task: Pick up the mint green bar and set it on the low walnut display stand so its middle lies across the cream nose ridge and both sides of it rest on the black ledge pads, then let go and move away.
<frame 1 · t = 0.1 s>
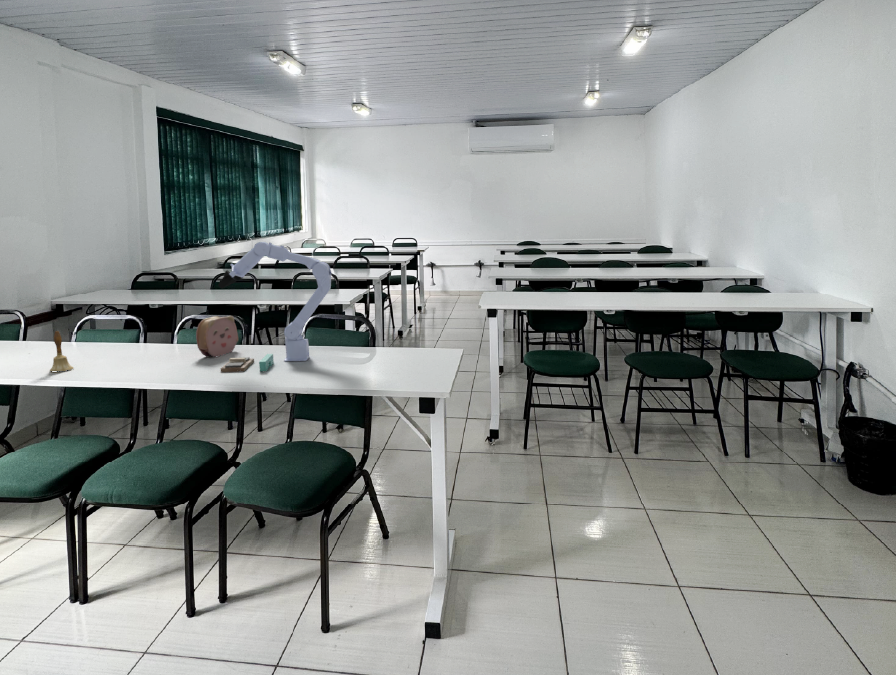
hand: (222, 285, 246), 32 cm above the table, tool tilted 50°, fingers open, 7 cm apart
mint green bar: (266, 367, 241), on the table
face sculpture: (219, 354, 265), on the table
display stand: (238, 366, 242), on the table
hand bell: (61, 370, 239), on the table
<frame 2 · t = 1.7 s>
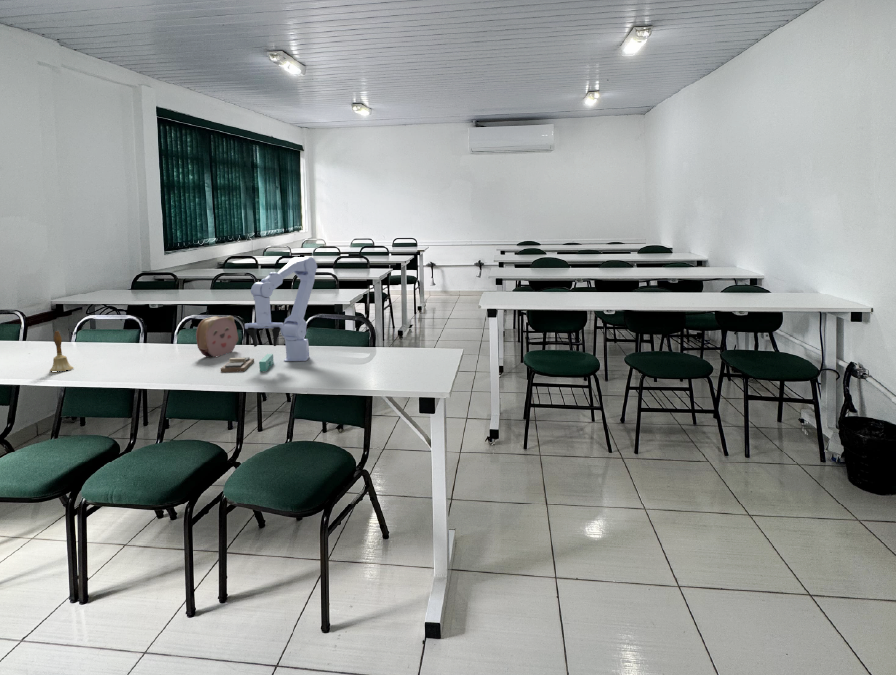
hand: (265, 345, 239), 9 cm above the table, tool pointing down, fingers open, 7 cm apart
nothing on the table moved.
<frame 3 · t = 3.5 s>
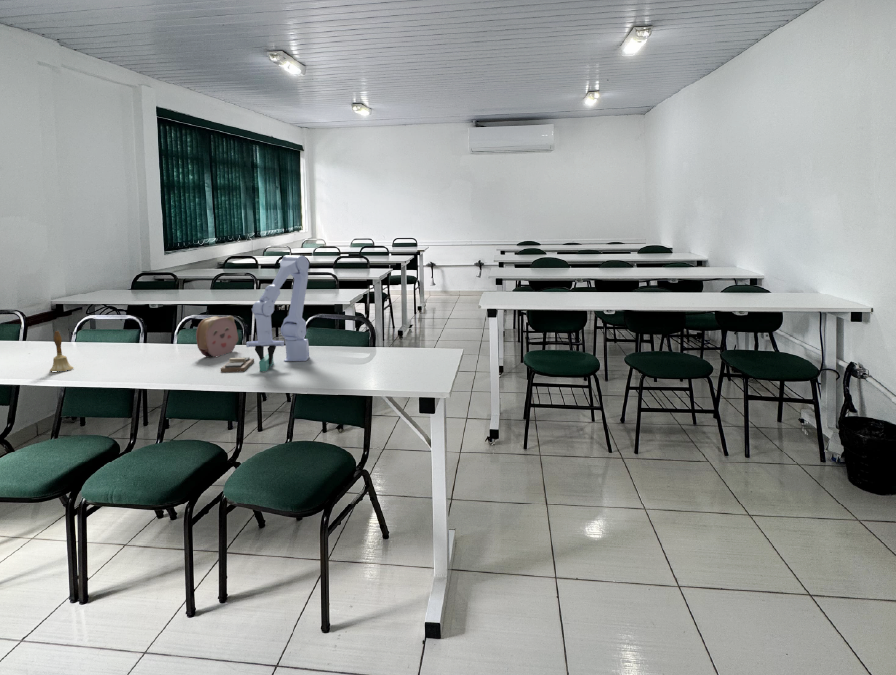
hand: (266, 363, 241), 1 cm above the table, tool pointing down, fingers closed on mint green bar, 2 cm apart
mint green bar: (266, 367, 241), on the table, touching gripper
everything else where it was.
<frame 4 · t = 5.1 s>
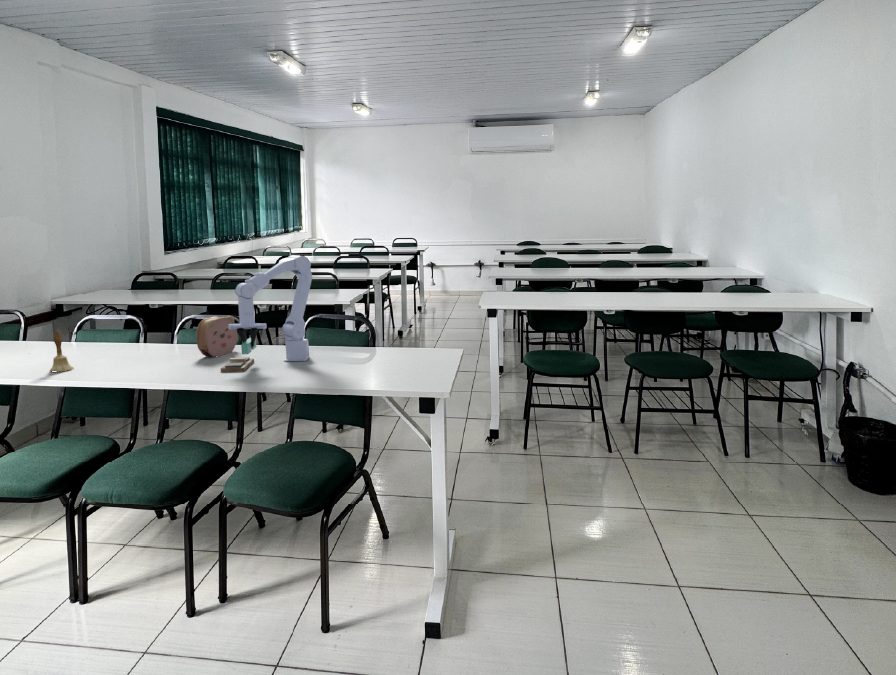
hand: (248, 346, 240), 9 cm above the table, tool pointing down, fingers closed on mint green bar, 2 cm apart
mint green bar: (249, 350, 240), point 7 cm above the table, touching gripper
everything else where it was.
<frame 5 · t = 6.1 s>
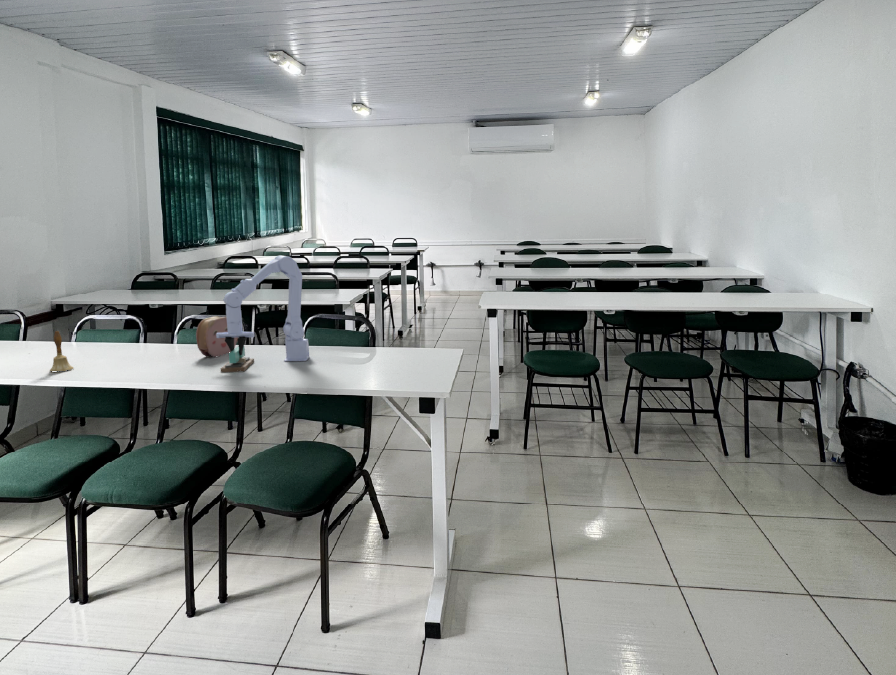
hand: (237, 355, 241), 5 cm above the table, tool pointing down, fingers closed on mint green bar, 2 cm apart
mint green bar: (237, 359, 241), point 3 cm above the table, touching gripper
everything else where it was.
when the fingers open (5 cm above the table, at t = 6.8 s): mint green bar stays where it is, resting on display stand.
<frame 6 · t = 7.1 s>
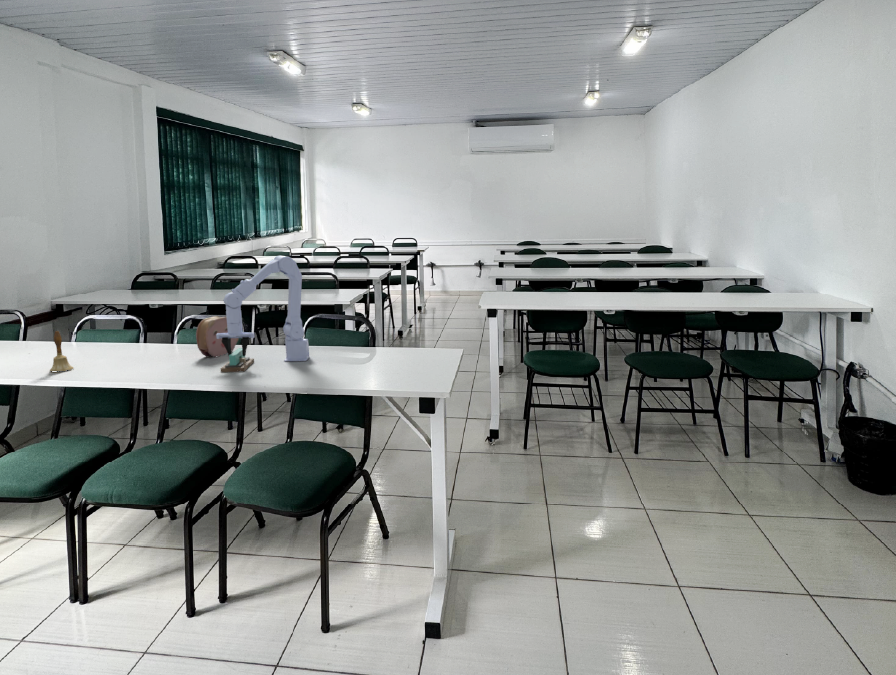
hand: (237, 355, 241), 5 cm above the table, tool pointing down, fingers open, 5 cm apart
mint green bar: (237, 361, 242), point 2 cm above the table, touching display stand
everything else where it was.
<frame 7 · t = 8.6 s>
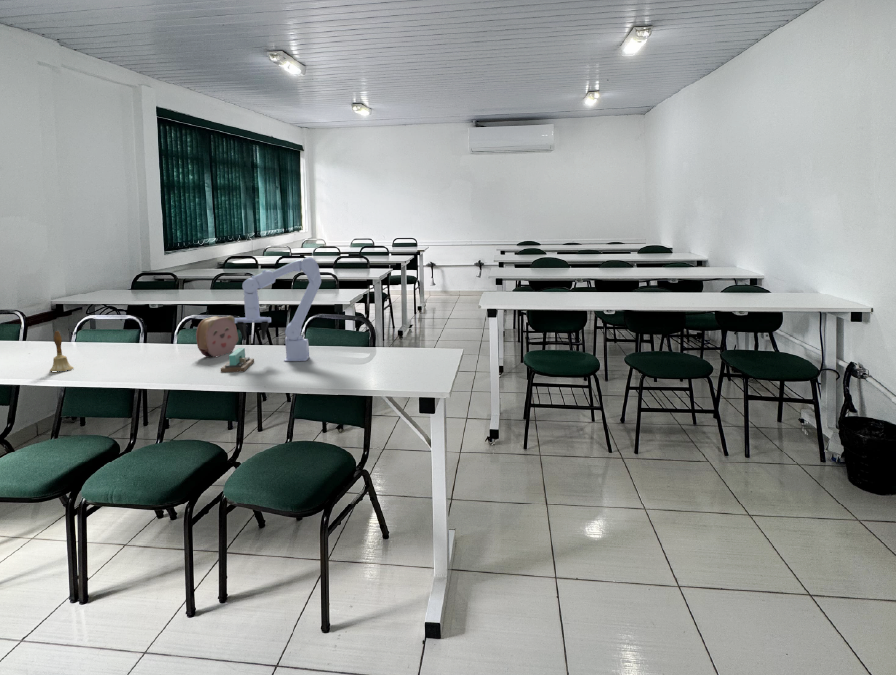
hand: (254, 339, 249), 9 cm above the table, tool pointing down, fingers open, 7 cm apart
nothing on the table moved.
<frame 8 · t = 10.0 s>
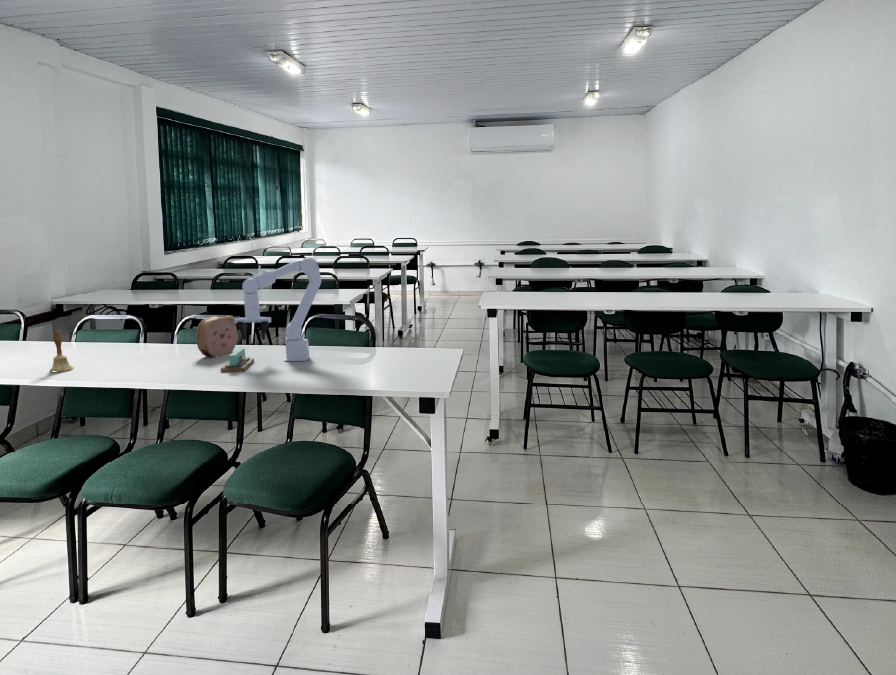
hand: (254, 339, 249), 9 cm above the table, tool pointing down, fingers open, 7 cm apart
nothing on the table moved.
at the end: mint green bar 0.2 cm off-centre on the display stand, point 2.3 cm above the display stand's base; mint green bar tilted 0°; the gripper is holding nothing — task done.
